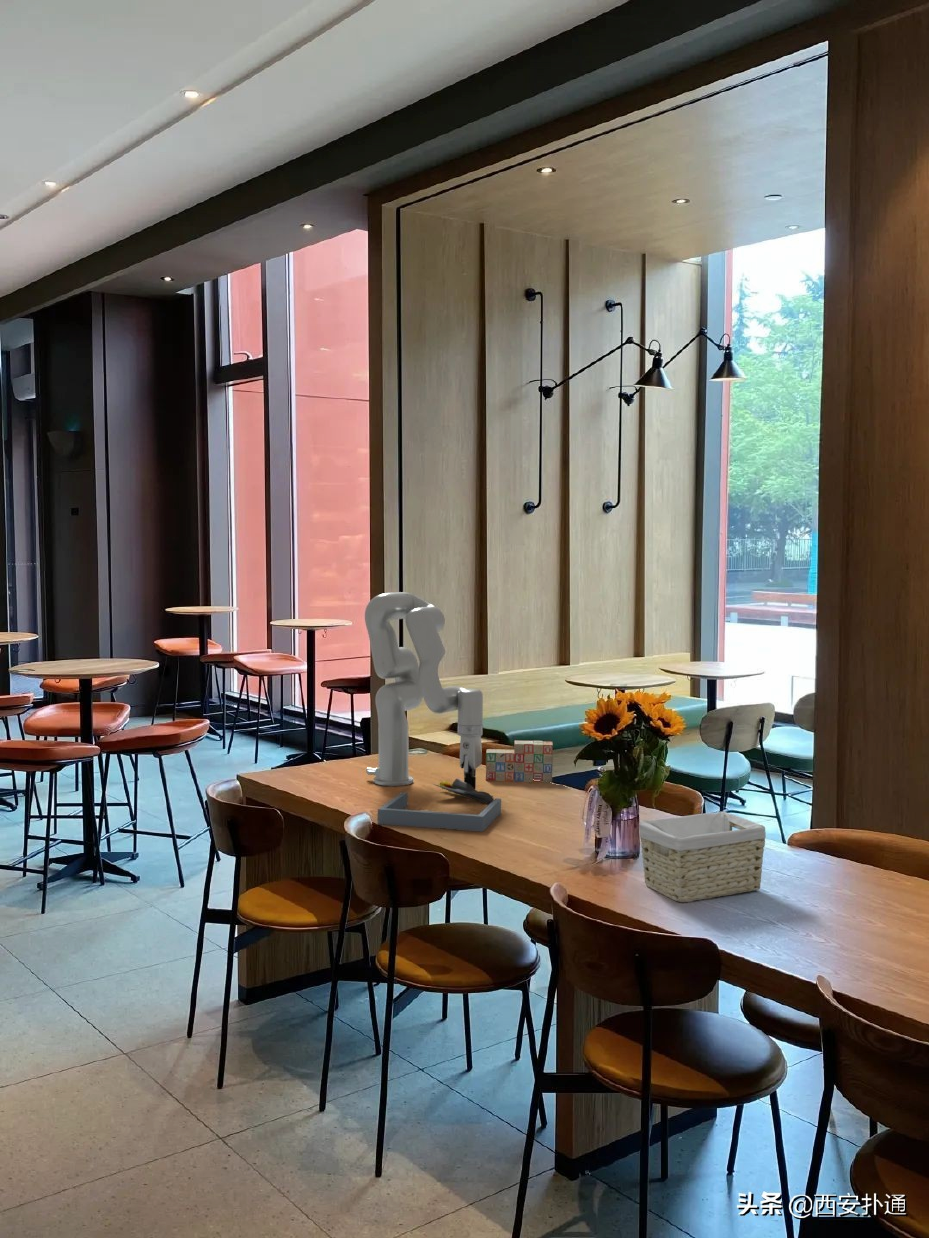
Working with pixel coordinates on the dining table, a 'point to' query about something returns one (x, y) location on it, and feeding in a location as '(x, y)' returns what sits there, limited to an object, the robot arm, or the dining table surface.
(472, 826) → the u-shaped frame
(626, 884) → the dining table surface
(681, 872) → the storage basket
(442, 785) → the toy plane
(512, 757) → the stack of blocks
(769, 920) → the dining table surface
